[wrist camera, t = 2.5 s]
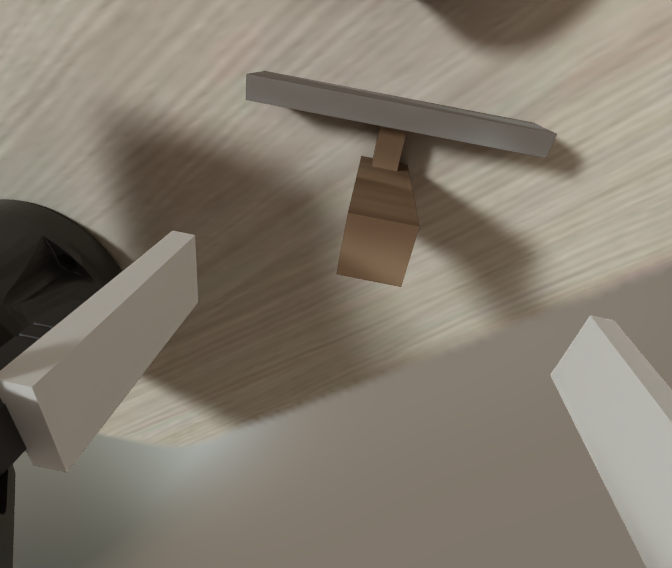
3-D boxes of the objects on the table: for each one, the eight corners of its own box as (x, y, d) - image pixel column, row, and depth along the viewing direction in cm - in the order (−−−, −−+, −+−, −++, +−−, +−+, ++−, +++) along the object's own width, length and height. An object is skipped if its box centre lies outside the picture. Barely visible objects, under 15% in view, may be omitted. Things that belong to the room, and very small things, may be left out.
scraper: (490, 227, 25) (542, 314, 17) (259, 182, 26) (197, 246, 17) (533, 123, 22) (627, 167, 13) (265, 70, 22) (189, 82, 13)
